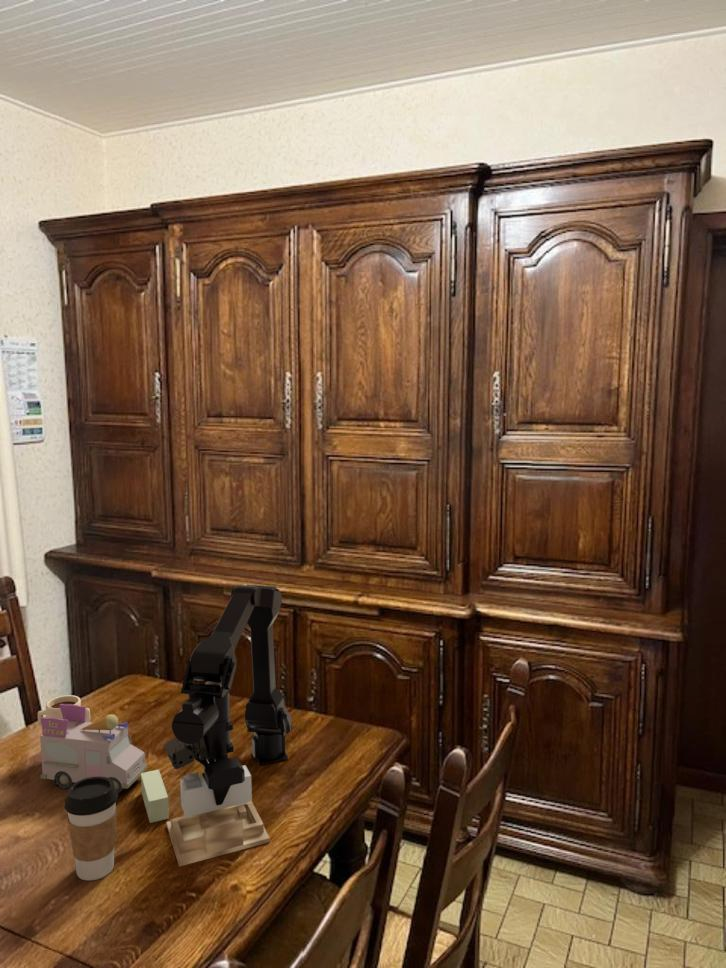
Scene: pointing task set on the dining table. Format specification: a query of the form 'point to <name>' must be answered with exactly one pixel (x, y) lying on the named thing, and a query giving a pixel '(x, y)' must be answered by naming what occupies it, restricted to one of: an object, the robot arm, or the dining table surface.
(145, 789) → the pale green rectangular block
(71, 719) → the toy vehicle
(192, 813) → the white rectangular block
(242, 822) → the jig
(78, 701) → the character mug
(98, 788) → the coffee cup
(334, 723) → the dining table surface
